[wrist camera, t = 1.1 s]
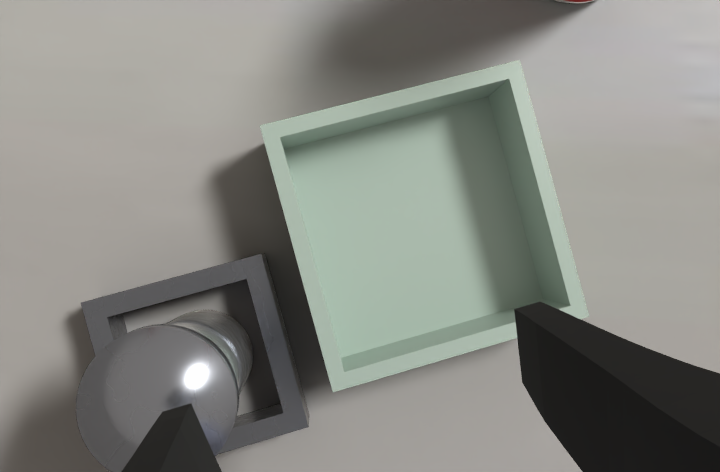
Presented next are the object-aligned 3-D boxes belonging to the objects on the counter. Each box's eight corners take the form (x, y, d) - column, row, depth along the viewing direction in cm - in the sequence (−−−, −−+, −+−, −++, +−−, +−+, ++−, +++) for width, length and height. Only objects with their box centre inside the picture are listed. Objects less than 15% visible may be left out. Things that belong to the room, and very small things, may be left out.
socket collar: (309, 414, 23) (308, 426, 21) (142, 464, 22) (130, 480, 20) (264, 253, 22) (261, 253, 21) (97, 298, 22) (80, 302, 20)
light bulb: (272, 394, 22) (253, 457, 16) (164, 426, 22) (99, 504, 16) (243, 289, 22) (212, 309, 16) (135, 319, 22) (57, 352, 15)
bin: (554, 307, 23) (589, 316, 20) (330, 372, 23) (332, 392, 20) (494, 83, 23) (519, 59, 20) (267, 141, 23) (259, 125, 20)
